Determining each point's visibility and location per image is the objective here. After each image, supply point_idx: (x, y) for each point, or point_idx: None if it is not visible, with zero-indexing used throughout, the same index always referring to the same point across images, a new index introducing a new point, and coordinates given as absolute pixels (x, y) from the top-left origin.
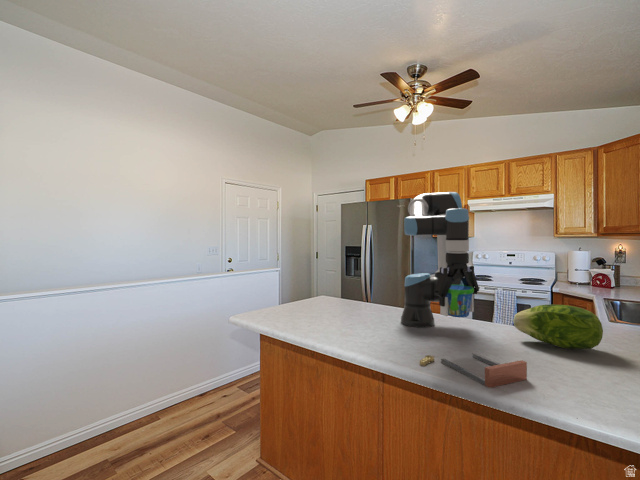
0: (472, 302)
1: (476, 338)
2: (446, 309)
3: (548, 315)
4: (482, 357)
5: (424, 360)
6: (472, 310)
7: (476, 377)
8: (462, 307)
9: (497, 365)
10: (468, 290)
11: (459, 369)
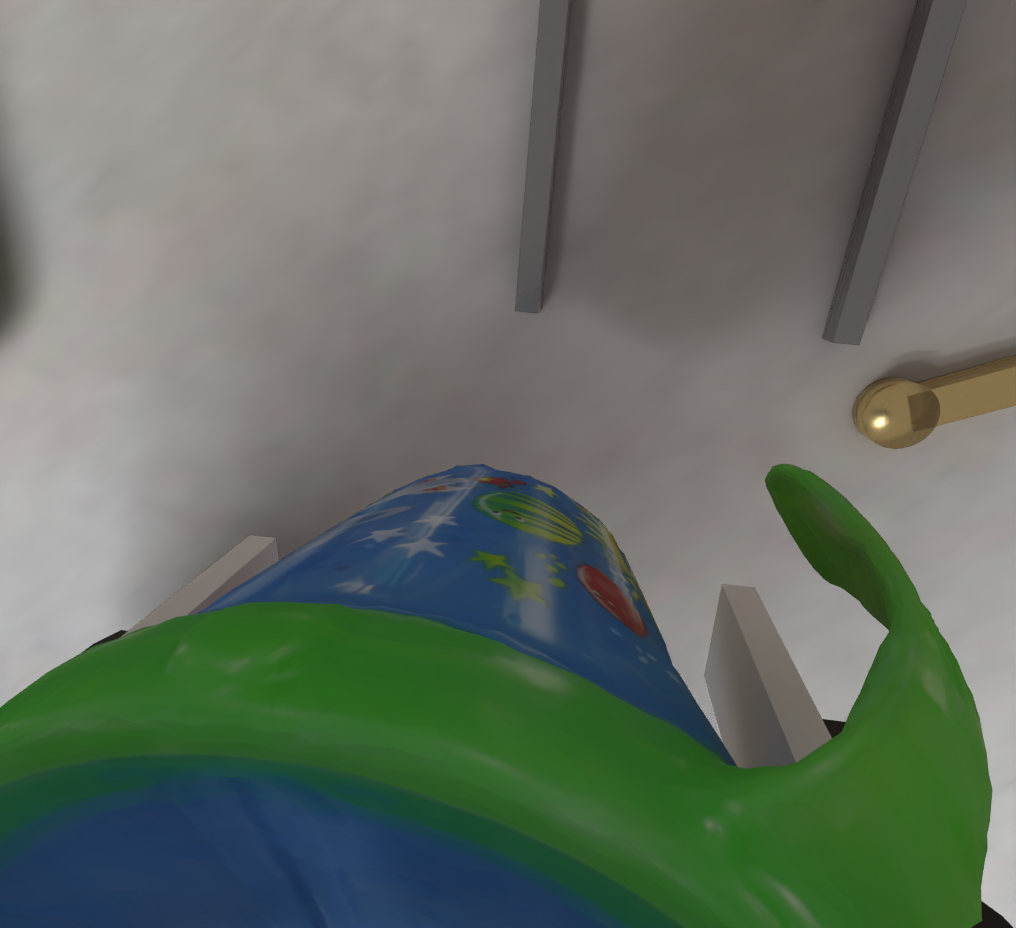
0: (175, 616)
1: (227, 537)
2: (777, 650)
3: None
4: (542, 212)
5: (1012, 382)
6: (255, 549)
7: None
8: (554, 528)
9: None
10: (344, 706)
11: (922, 123)
